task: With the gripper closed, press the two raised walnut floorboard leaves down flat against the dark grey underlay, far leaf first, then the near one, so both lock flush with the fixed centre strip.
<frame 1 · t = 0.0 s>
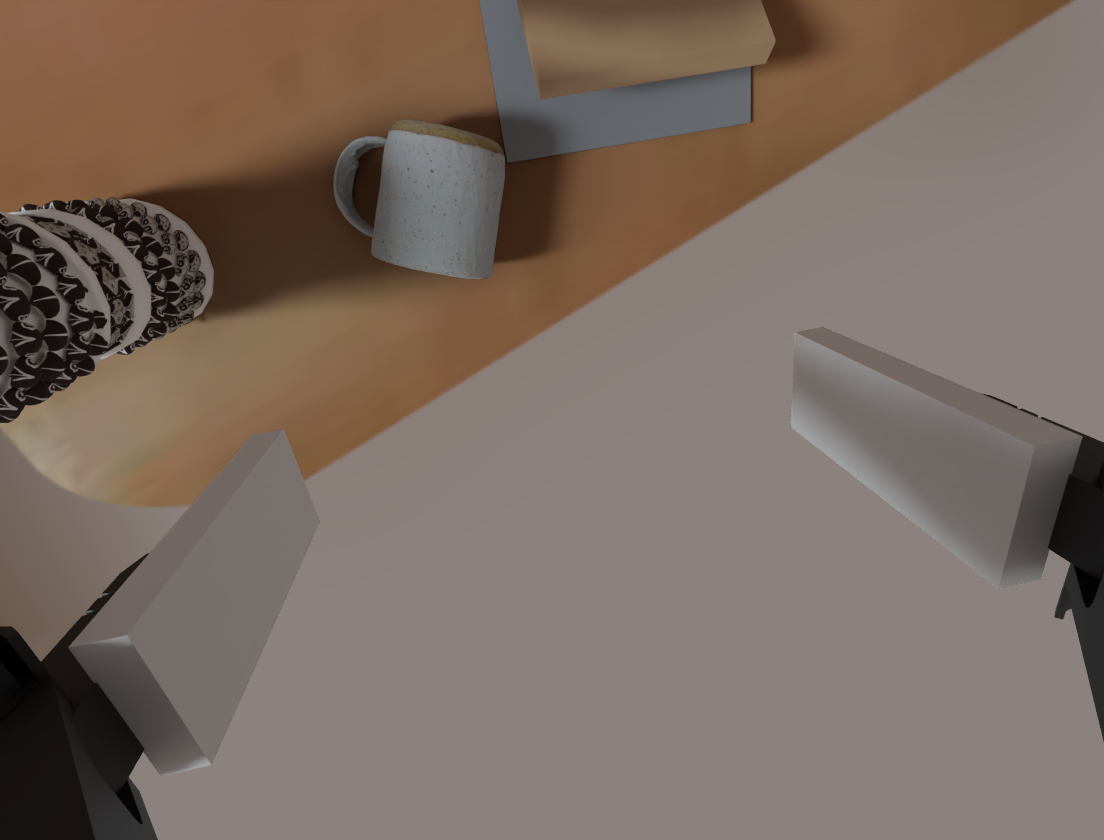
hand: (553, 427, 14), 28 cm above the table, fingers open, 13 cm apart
ceramic mug: (423, 201, 37), on the table
decorative candle: (146, 265, 36), on the table
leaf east: (637, 6, 31), point 4 cm above the table, hinge at 38.0°
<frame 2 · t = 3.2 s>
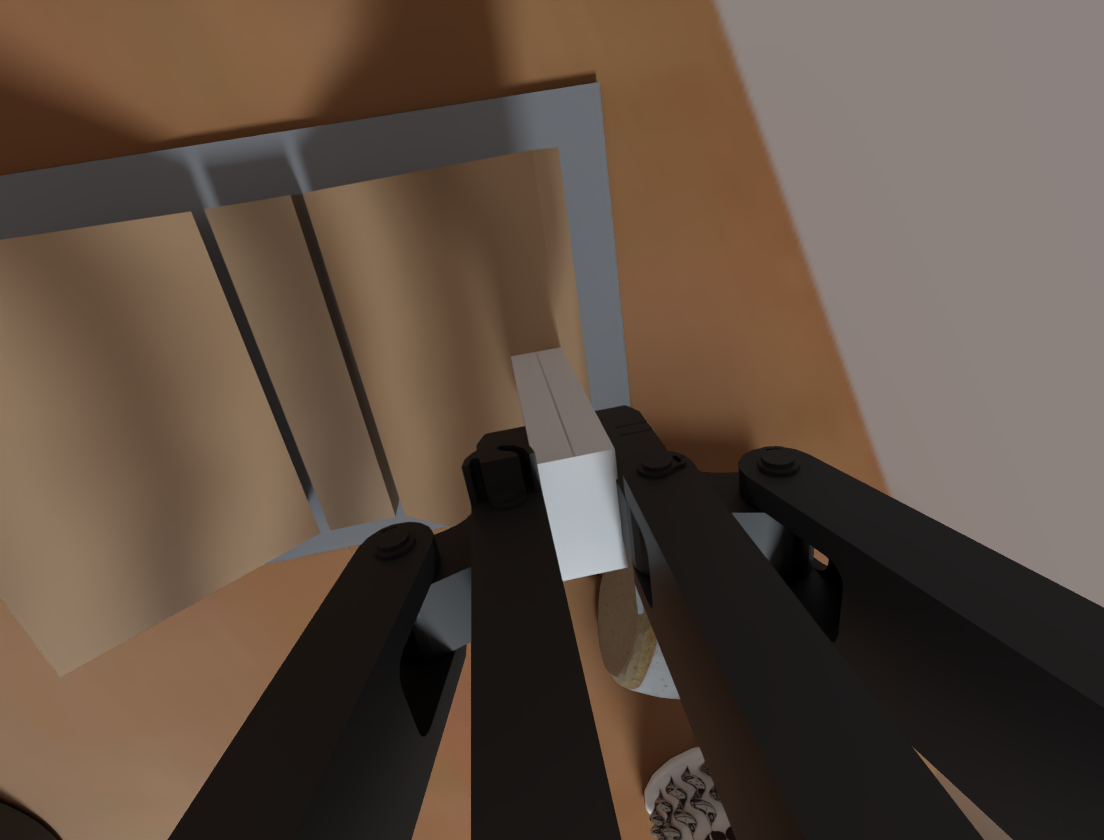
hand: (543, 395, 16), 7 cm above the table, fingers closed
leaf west: (121, 439, 18), point 4 cm above the table, hinge at 38.0°
centre strip: (324, 369, 22), resting on underlay mat
underlay mat: (324, 369, 22), on the table
ceramic mug: (666, 582, 30), on the table
decorative candle: (701, 782, 37), on the table
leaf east: (463, 374, 19), point 4 cm above the table, hinge at 37.3°, touching gripper
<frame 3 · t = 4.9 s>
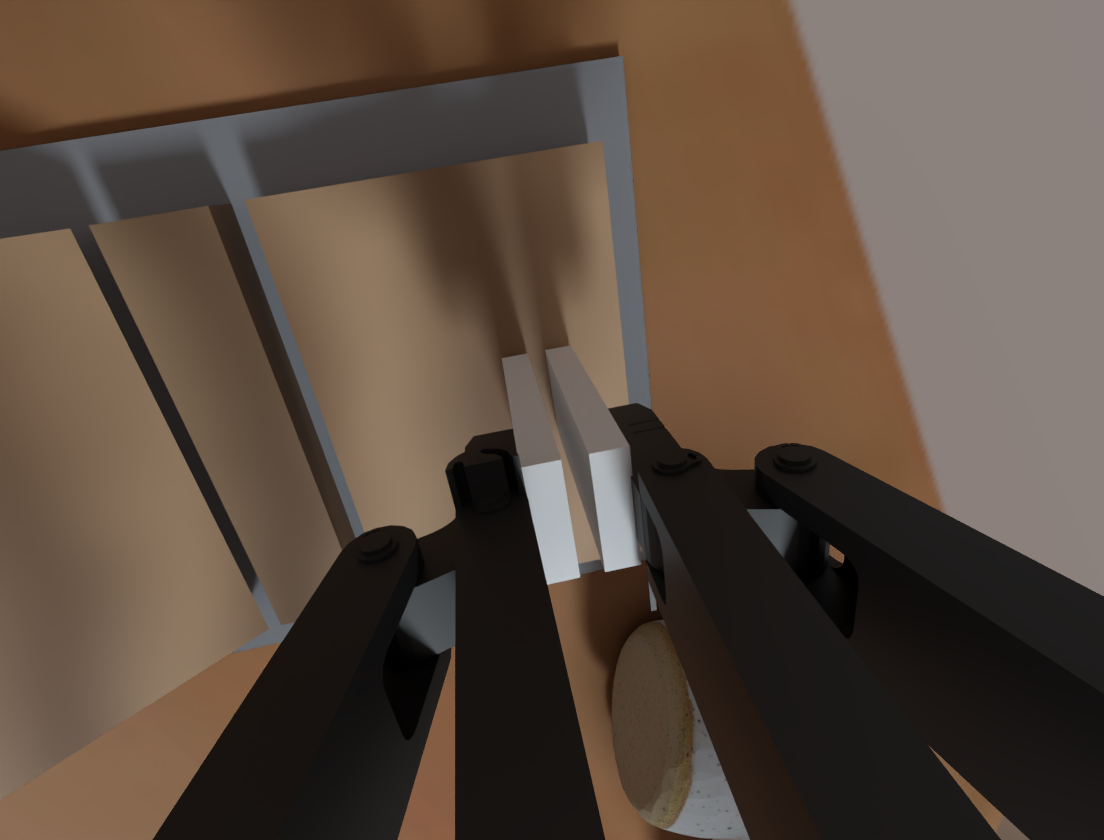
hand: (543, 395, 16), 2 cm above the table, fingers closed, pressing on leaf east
centre strip: (270, 425, 18), resting on underlay mat
underlay mat: (270, 425, 18), on the table
ceramic mug: (690, 666, 25), on the table
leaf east: (479, 397, 17), point 1 cm above the table, hinge at 2.0°, touching gripper
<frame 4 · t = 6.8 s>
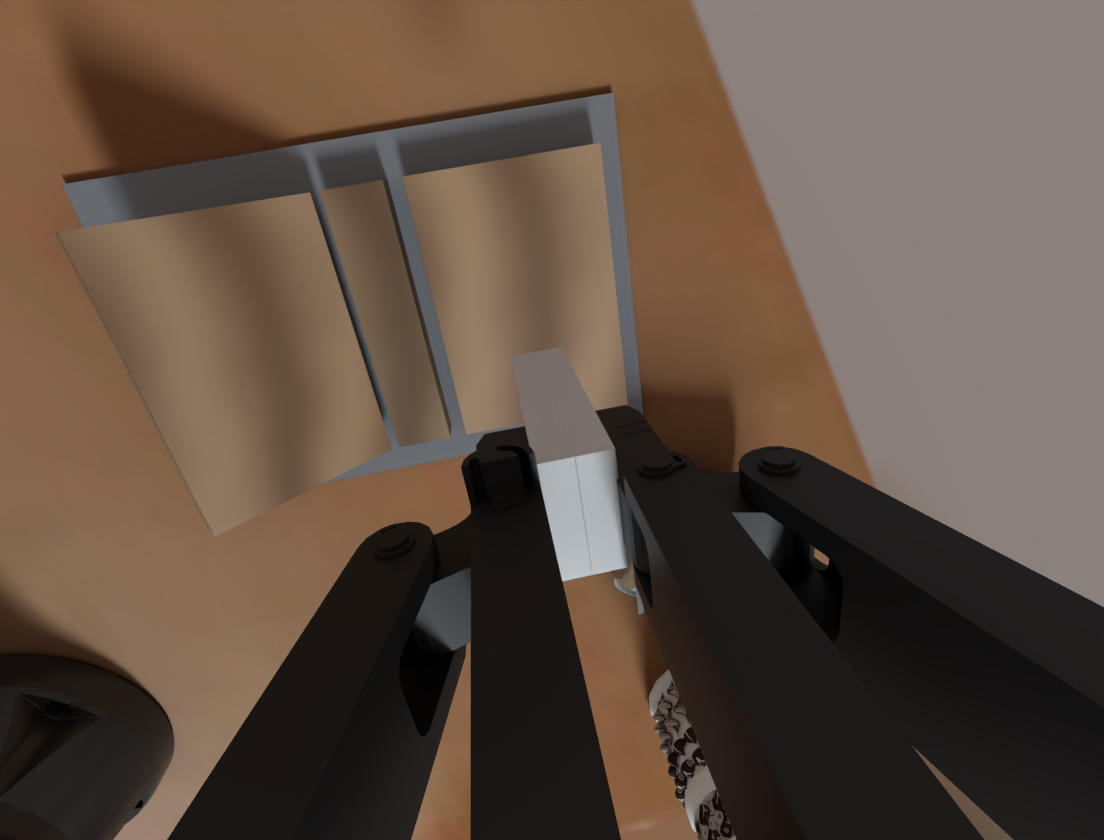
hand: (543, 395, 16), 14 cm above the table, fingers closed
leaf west: (257, 362, 25), point 4 cm above the table, hinge at 38.0°
centre strip: (396, 318, 28), resting on underlay mat
underlay mat: (396, 318, 28), on the table
ceramic mug: (664, 517, 36), on the table
decorative candle: (698, 691, 43), on the table
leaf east: (526, 299, 28), point 1 cm above the table, hinge at 1.3°
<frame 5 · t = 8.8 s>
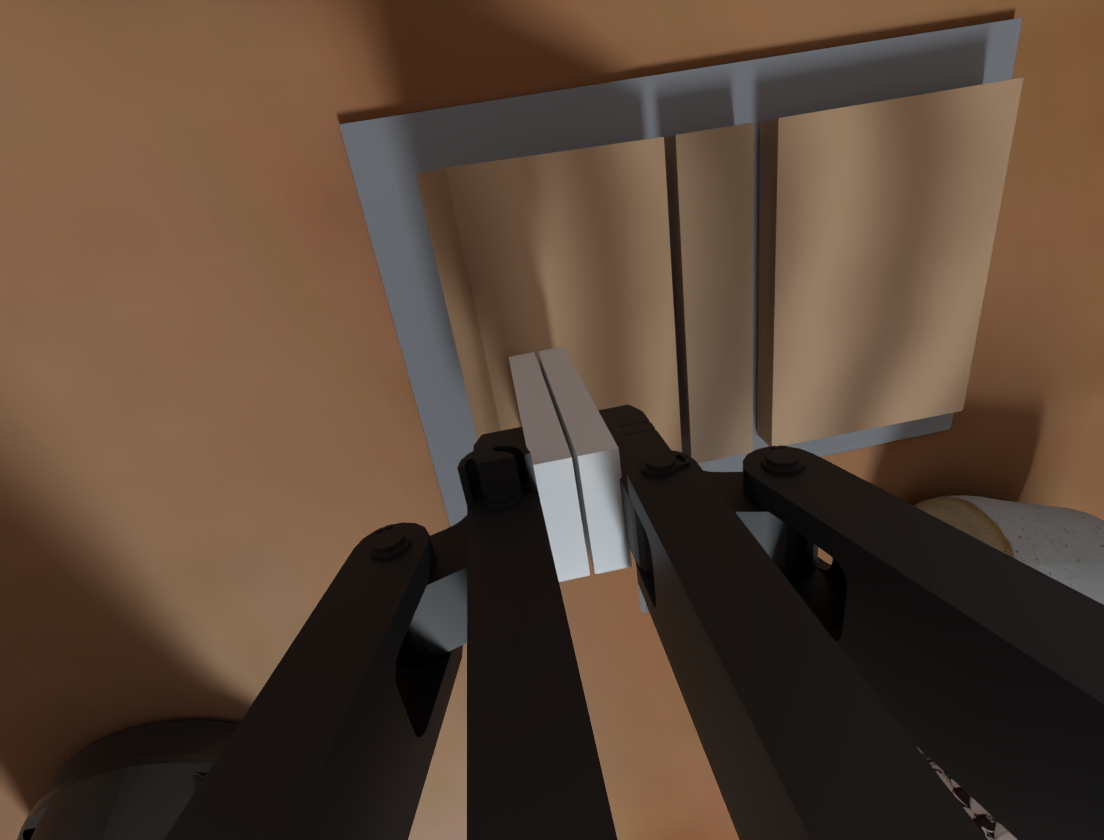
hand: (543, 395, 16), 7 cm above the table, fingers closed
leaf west: (583, 358, 19), point 4 cm above the table, hinge at 36.0°, touching gripper
centre strip: (701, 304, 23), resting on underlay mat
underlay mat: (701, 304, 23), on the table
ceramic mug: (932, 549, 31), on the table
decorative candle: (922, 737, 38), on the table
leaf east: (871, 281, 22), point 1 cm above the table, hinge at 1.3°
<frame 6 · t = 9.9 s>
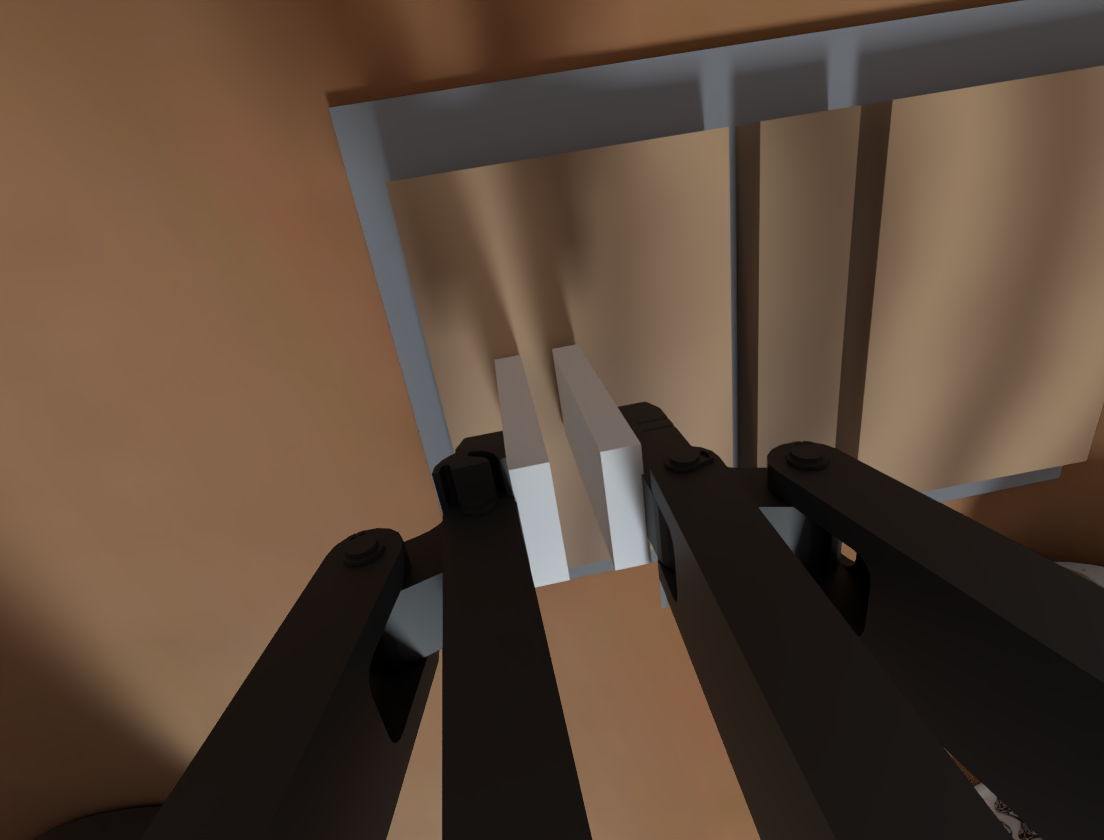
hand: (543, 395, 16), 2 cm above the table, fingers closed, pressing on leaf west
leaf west: (587, 381, 17), point 1 cm above the table, hinge at 2.4°, touching gripper
centre strip: (772, 332, 19), resting on underlay mat
underlay mat: (772, 332, 19), on the table
ceramic mug: (1018, 615, 27), on the table
decorative candle: (992, 811, 34), on the table
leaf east: (987, 305, 18), point 1 cm above the table, hinge at 1.3°
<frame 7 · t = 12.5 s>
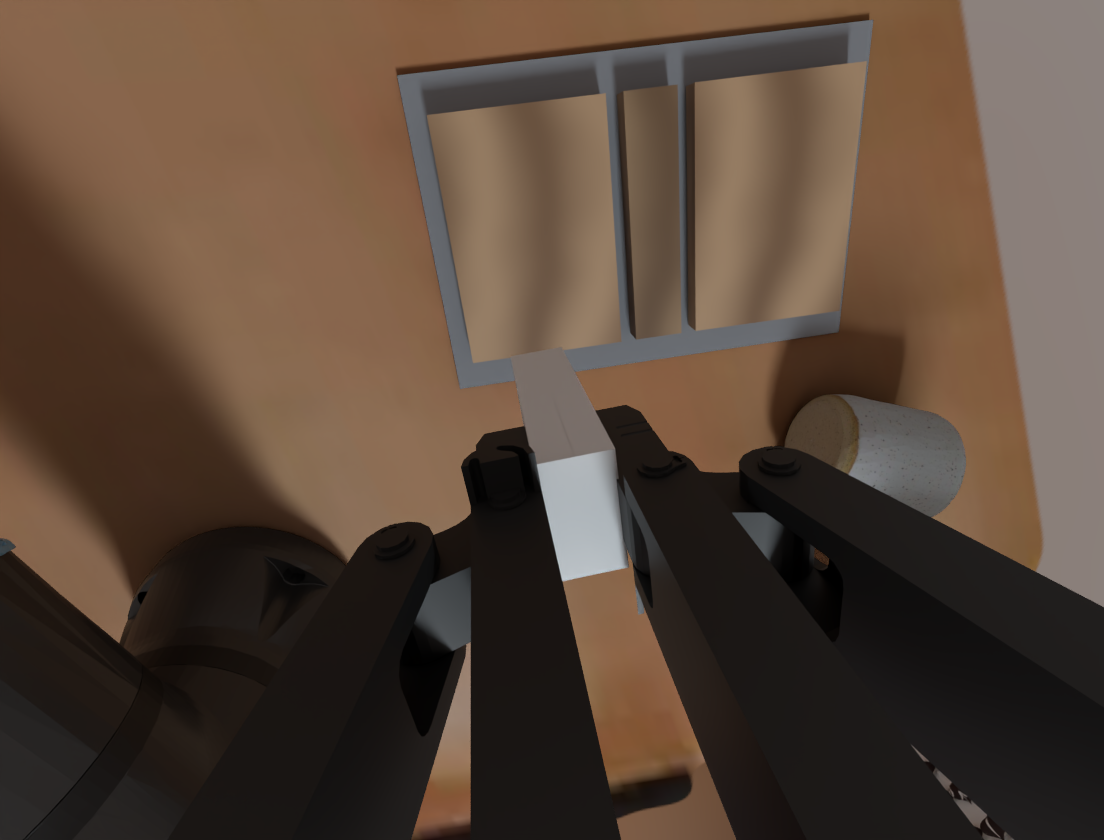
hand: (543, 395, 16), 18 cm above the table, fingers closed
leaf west: (532, 238, 30), point 1 cm above the table, hinge at -0.6°, touching underlay mat
centre strip: (646, 220, 32), resting on underlay mat
underlay mat: (646, 220, 32), on the table
ceramic mug: (825, 447, 40), on the table
decorative candle: (831, 606, 47), on the table
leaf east: (768, 206, 31), point 1 cm above the table, hinge at 1.3°
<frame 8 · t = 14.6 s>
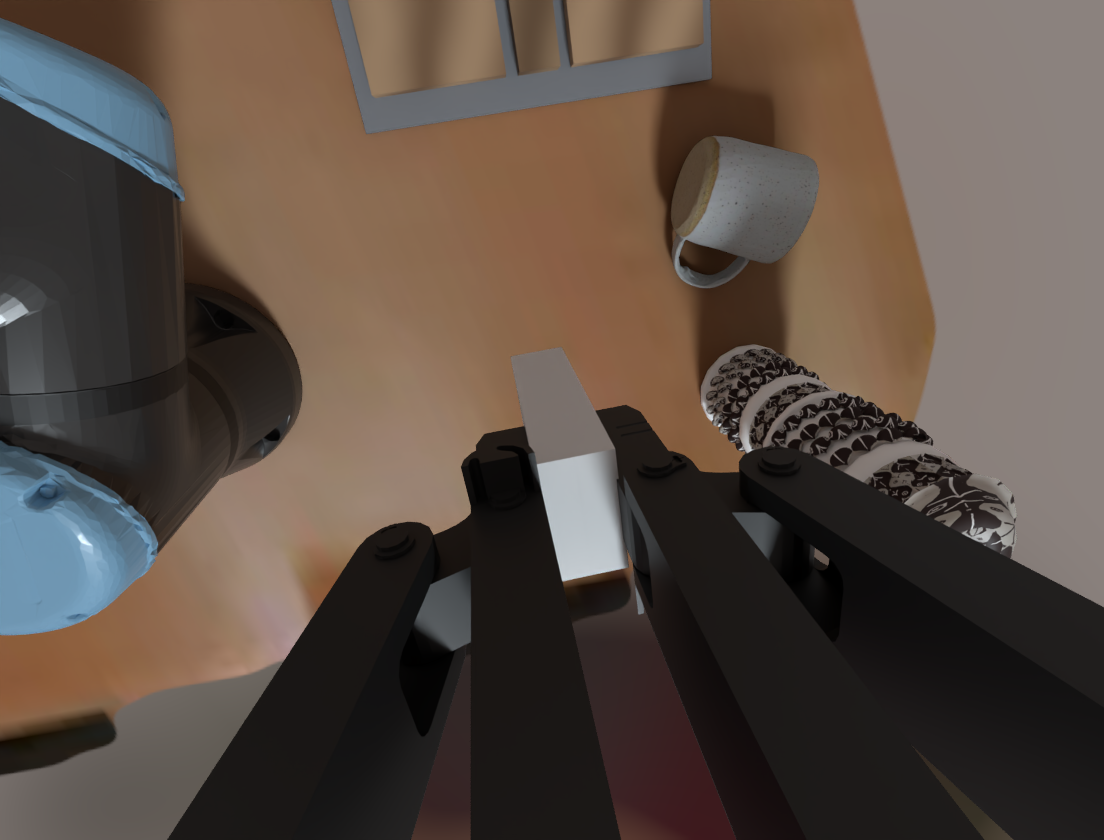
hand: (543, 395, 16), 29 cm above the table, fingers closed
ceramic mug: (714, 216, 44), on the table
decorative candle: (742, 387, 50), on the table
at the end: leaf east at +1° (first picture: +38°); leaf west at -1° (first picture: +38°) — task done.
